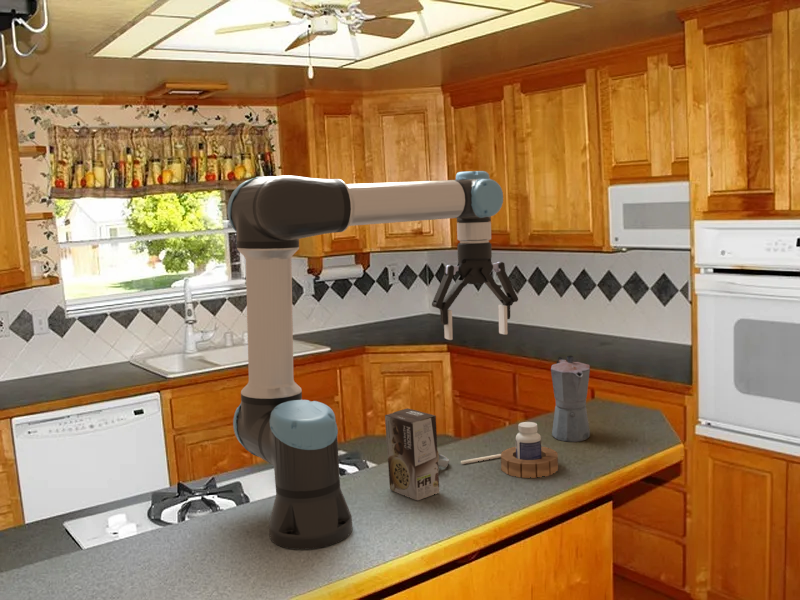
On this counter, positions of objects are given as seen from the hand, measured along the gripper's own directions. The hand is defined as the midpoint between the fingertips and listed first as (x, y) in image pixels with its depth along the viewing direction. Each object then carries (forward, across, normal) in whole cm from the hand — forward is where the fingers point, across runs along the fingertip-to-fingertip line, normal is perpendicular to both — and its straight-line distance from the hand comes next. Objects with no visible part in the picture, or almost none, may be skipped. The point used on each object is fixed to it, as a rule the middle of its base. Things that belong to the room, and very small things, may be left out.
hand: (476, 336), depth 186 cm
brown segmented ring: (+27, -6, +14) cm, 31 cm away
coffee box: (+28, +22, +14) cm, 38 cm away
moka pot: (+27, -25, -1) cm, 36 cm away
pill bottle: (+28, -6, +13) cm, 31 cm away
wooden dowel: (+27, -2, +4) cm, 28 cm away
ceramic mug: (+28, +14, +2) cm, 31 cm away
